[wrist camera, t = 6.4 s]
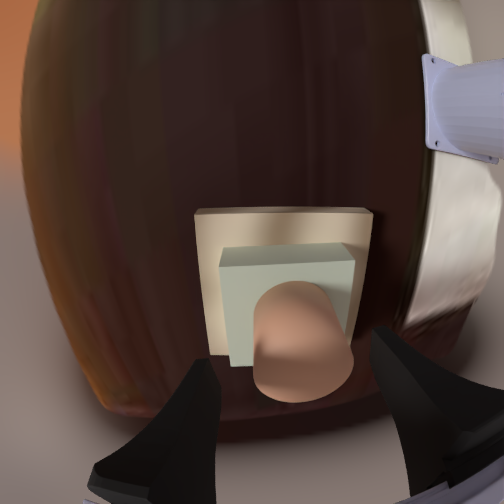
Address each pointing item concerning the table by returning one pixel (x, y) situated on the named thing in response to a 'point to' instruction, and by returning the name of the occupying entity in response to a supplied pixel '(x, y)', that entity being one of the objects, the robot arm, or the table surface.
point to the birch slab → (275, 233)
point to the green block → (276, 272)
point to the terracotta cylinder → (298, 344)
